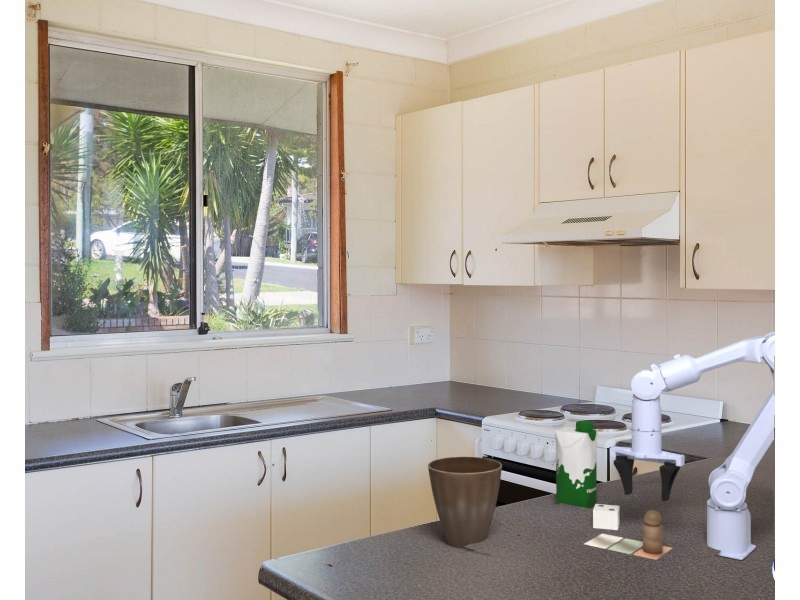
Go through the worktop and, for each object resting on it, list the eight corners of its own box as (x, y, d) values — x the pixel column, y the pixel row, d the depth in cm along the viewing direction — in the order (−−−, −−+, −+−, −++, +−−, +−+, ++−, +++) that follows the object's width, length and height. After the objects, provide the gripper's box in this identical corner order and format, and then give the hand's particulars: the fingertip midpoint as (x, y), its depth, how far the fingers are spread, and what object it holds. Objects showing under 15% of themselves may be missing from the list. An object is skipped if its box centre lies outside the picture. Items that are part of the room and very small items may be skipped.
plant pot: (472, 560, 149) (471, 476, 149) (413, 544, 160) (412, 465, 159) (517, 541, 160) (516, 463, 160) (459, 527, 170) (459, 453, 170)
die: (595, 526, 170) (595, 503, 170) (619, 529, 169) (619, 505, 169) (593, 533, 166) (593, 509, 166) (617, 535, 164) (617, 511, 164)
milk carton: (587, 512, 181) (587, 425, 181) (550, 506, 186) (550, 422, 186) (601, 504, 188) (601, 420, 188) (566, 498, 193) (565, 417, 193)
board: (602, 537, 162) (602, 532, 162) (675, 552, 153) (675, 547, 153) (580, 550, 155) (580, 544, 155) (655, 567, 145) (655, 560, 145)
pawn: (647, 546, 153) (647, 506, 153) (665, 550, 151) (665, 509, 151) (639, 551, 150) (639, 510, 150) (658, 555, 148) (658, 513, 148)
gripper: (604, 428, 160) (604, 495, 160) (675, 436, 151) (675, 507, 151) (618, 423, 165) (618, 488, 165) (688, 431, 156) (688, 499, 156)
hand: (646, 497), depth 159 cm, fingers open, 7 cm apart
